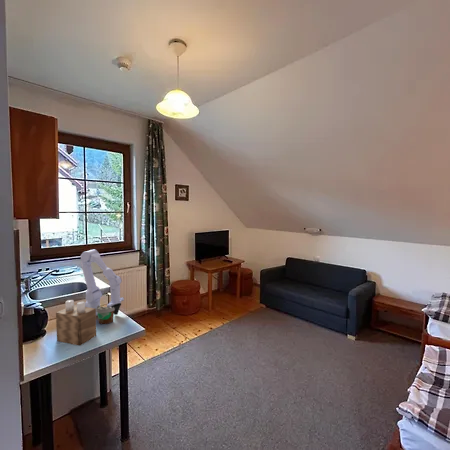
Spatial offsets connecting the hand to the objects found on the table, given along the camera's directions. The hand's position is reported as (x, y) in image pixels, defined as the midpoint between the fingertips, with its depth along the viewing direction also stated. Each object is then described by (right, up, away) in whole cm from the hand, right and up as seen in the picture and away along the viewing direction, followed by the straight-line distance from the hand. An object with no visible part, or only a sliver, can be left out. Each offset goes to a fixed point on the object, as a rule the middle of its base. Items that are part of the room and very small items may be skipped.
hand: (115, 314), depth 181 cm
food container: (-3, -2, -11) cm, 12 cm away
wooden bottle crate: (-9, -3, -30) cm, 32 cm away
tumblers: (-9, +13, -32) cm, 36 cm away
